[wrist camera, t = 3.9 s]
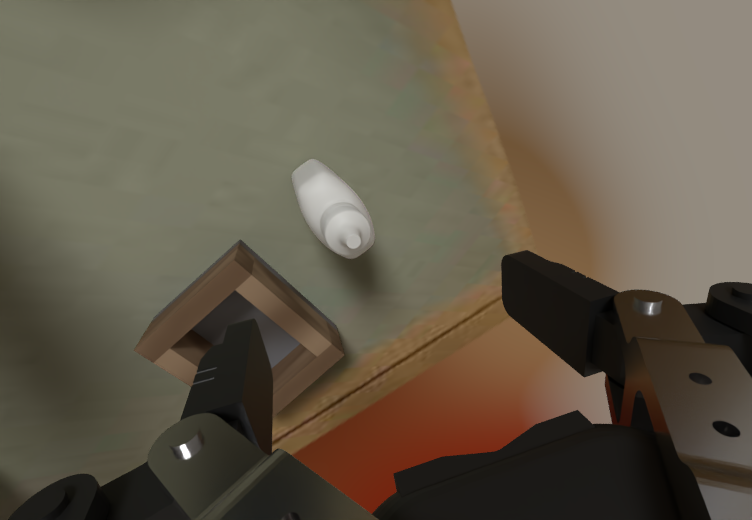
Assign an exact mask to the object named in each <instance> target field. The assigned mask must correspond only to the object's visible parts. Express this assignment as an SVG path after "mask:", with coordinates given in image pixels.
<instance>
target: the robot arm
mask: <svg viewBox="0 0 752 520" xmlns="http://www.w3.org/2000/svg"><path fill="white" fill-rule="evenodd" d="M501 268H502V301H503V305H504V307H505V310H506V312H507V313H508V314H509V316H511V317H512V318H513V319H514V320H515V321H517V322H518V323H519V324H520V325H521V326H523V327H524V328H525V329H526V330H528V331H529V332H530V333H531V334H532V335H534V336H535V337H536V338H537V339H538V340H540V341H541V342H542V343H543V344H545V345H546V346H547V347H548V348H549V349H551V350H552V351H553V352H554V353H555V354H557V355H558V356H559V357H560V358H561V359H563V360H564V361H565V362H566V363H567V364H569V365H570V366H571V367H572V368H574V369H575V370H576V371H577V372H578V373H579V374H581V375H582V376H583V377H587V376H590V375H593V374H596V373H598V372H602V371H603V372H605V373H606V376H605V389H606V394H607V400H608V405H609V410H610V415H611V420H612V424H592V423H591V422H590V421H589V420H588V419H587V418H585V417H584V416H583V415H582V414H581V413H580V412H579V411H578V410H576V411H573V412H570V413H567V414H565V415H562V416H559V417H556V418H553V419H550V420H547V421H544V422H541V423H538V424H536V425H534V426H533V427H531V428H530V429H529V430H527V431H526V432H524V433H523V434H521V435H520V436H519V437H517V438H516V439H514V440H513V441H512V442H510V443H509V444H507V445H506V446H505V447H503V448H502V449H500V450H498V451H495V452H487V453H478V454H467V455H457V456H445V457H440V458H437V459H434V460H432V461H429V462H426V463H423V464H420V465H417V466H414V467H411V468H408V469H405V470H403V471H400V472H397V473H394V479H395V484H396V489H397V492H396V493H395V494H393V495H392V496H390V497H389V498H388V499H387V500H386V501H384V502H383V503H382V504H381V505H380V506H379V507H378V508H377V509H376V510H375V511H374V512H373V514H371V513H369V512H368V511H367V510H365V509H364V508H362V507H361V506H360V505H358V504H357V503H356V502H354V501H353V500H351V499H350V498H349V497H347V496H346V495H345V494H343V493H342V492H341V491H339V490H338V489H337V488H335V487H334V486H332V485H331V484H330V483H328V482H327V481H326V480H324V479H323V478H322V477H320V476H319V475H318V474H316V473H315V472H313V471H312V470H311V469H309V468H308V467H307V466H305V465H304V464H302V463H301V462H300V461H298V460H297V459H295V458H294V457H293V456H292V455H290V454H289V453H287V452H286V451H284V450H282V449H276V450H275V451H274V452H273V453H272V417H273V375H272V369H271V365H270V361H269V358H268V355H267V352H266V349H265V345H264V342H263V339H262V336H261V333H260V330H259V327H258V324H257V322H256V320H255V319H254V318H253V319H249V320H245V321H241V322H237V323H233V324H229V325H228V326H227V329H226V333H225V337H224V341H223V343H222V344H219V345H215V346H212V347H211V348H210V349H209V350H208V351H207V353H206V354H205V355H204V356H203V357H202V358H201V360H200V363H199V366H198V369H197V374H196V375H195V378H194V381H193V385H192V387H191V390H190V393H189V396H188V399H187V402H186V405H185V408H184V411H183V414H182V417H181V420H180V421H179V422H177V423H176V424H174V425H172V426H171V427H170V428H168V429H167V430H166V431H165V432H164V433H162V434H161V435H160V436H159V438H158V439H157V440H156V441H155V442H154V444H153V445H152V447H151V449H150V451H149V454H148V459H147V462H146V463H144V464H143V465H141V466H139V467H137V468H136V469H134V470H132V471H130V472H128V473H126V474H124V475H122V476H121V477H119V478H117V479H115V480H113V481H111V482H109V483H107V484H105V485H104V486H102V487H100V485H99V484H98V482H97V481H96V479H95V478H94V477H93V476H92V475H89V474H77V475H73V476H69V477H66V478H64V479H61V480H59V481H57V482H55V483H53V484H51V485H49V486H47V487H46V488H44V489H42V490H41V491H39V492H38V493H36V494H35V495H34V496H32V497H31V498H30V499H28V500H27V501H26V502H25V503H24V504H23V505H21V506H20V507H19V508H18V509H17V510H16V511H15V512H14V513H13V514H12V515H11V517H10V518H9V519H8V520H752V284H749V283H741V282H724V283H718V284H715V285H713V286H711V287H710V289H709V293H708V298H707V302H706V303H698V304H685V305H682V304H681V303H680V302H679V301H678V300H676V299H675V298H673V297H671V296H669V295H666V294H663V293H660V292H655V291H650V290H627V291H623V292H617V291H615V290H613V289H611V288H609V287H607V286H605V285H603V284H601V283H599V282H597V281H595V280H593V279H591V278H589V277H587V278H586V276H585V275H582V274H581V273H579V272H575V270H572V269H571V268H569V267H567V266H565V265H562V264H559V263H554V262H550V261H548V260H546V259H544V258H542V257H540V256H538V255H536V254H534V253H532V252H530V251H528V250H525V251H521V252H517V253H513V254H509V255H505V256H504V257H503V259H502V263H501Z"/></svg>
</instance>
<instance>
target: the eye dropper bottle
mask: <svg viewBox="0 0 752 520" xmlns="http://www.w3.org/2000/svg"><path fill="white" fill-rule="evenodd" d="M292 183H293V186H294V190H295V194H296V197H297V200H298V203H299V206H300V209H301V212H302V214H303V216H304V218H305V220H306V222H307V224H308V226H309V227H310V229H311V230H312V232H313V233H314V234H315V236H316V237H317V238H318V239H319V240H320V241H321V242H322V243H323V244H324V245H325V246H326V247H328V248H329V249H330V250H332V251H333V252H335V253H337V254H338V255H340V256H342V257H345V258H347V259H354V258H357V257H358V256H360V255H361V254H363V253H364V252H365V251H367V250H368V249H369V248H370V247H371V246H372V245H373V244H374V241H375V232H374V227H373V223H372V220H371V217H370V215H369V213H368V211H367V209H366V207H365V205H364V203H363V202H362V200H361V199H360V198H359V196H358V195H357V194H356V193H355V192H354V191H353V190H352V188H351V187H350V186H348V185H347V184H346V183H345V182H344V181H343V180H342V179H341V178H340V177H339V176H338V175H336V174H335V173H334V172H333V171H332V170H331V169H330V168H328V167H327V166H326V165H324V164H323V163H321V162H320V161H318V160H315V159H310V160H308V161H307V162H305V163H304V164H302V165H301V166H300V167H298V168H297V169H296V170H294V172H293V173H292Z"/></svg>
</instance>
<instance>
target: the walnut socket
mask: <svg viewBox="0 0 752 520" xmlns="http://www.w3.org/2000/svg"><path fill="white" fill-rule="evenodd" d="M253 318H254V319H255V320H256V322H257V324H258V327H259V330H260V333H261V336H262V339H263V342H264V345H265V349H266V352H267V355H268V358H269V361H270V365H271V369H272V375H273V417H274V416H275V415H276V414H277V413H279V412H280V411H281V410H282V409H283V408H284V407H286V406H287V405H288V404H289V403H290V402H291V401H292V400H294V399H295V398H296V397H297V396H298V395H299V394H301V393H302V392H303V391H304V390H305V389H306V388H307V387H309V386H310V385H311V384H312V383H313V382H314V381H316V380H317V379H318V378H319V377H320V376H321V375H322V374H324V373H325V372H326V371H327V370H328V369H329V368H330V367H332V366H333V365H334V364H335V363H336V362H337V361H339V360H340V359H341V358H342V357H343V356H344V355H345V354H344V351H343V347H342V344H341V340H340V337H339V334H338V330H337V327H336V325H335V324H334V323H333V322H332V321H331V320H329V319H328V318H327V317H326V316H325V315H324V314H323V313H322V312H321V311H319V310H318V309H317V308H316V307H315V306H314V305H313V304H312V303H311V302H309V301H308V300H307V299H306V298H305V297H304V296H303V295H302V294H301V293H299V292H298V291H297V290H296V289H295V288H294V287H293V286H292V285H291V284H289V283H288V282H287V281H286V280H285V279H284V278H283V277H282V276H280V275H279V274H278V273H277V272H276V271H275V270H274V269H273V268H272V267H270V266H269V265H268V264H267V263H266V262H265V261H264V260H263V259H262V258H260V257H259V256H258V255H257V254H256V253H255V252H254V251H253V250H252V249H250V248H249V247H248V246H247V245H246V244H245V243H244V242H243V241H242V240H239V241H238V242H237V243H236V244H235V245H234V246H232V247H231V248H230V249H229V250H228V251H227V252H226V253H225V254H224V255H222V256H221V257H220V258H219V259H218V260H217V261H216V262H215V263H214V264H213V265H211V266H210V267H209V268H208V269H207V270H206V271H205V272H204V273H203V274H201V275H200V276H199V277H198V278H197V279H196V280H195V281H194V282H193V283H191V284H190V285H189V286H188V287H187V288H186V289H185V290H184V291H183V292H182V293H180V294H179V295H178V296H177V297H176V298H175V299H174V300H173V301H172V302H170V303H169V304H168V305H167V306H166V307H165V308H164V309H163V310H162V311H160V312H159V313H158V314H157V315H156V316H155V317H154V318H153V320H152V322H151V323H150V325H149V326H148V328H147V330H146V331H145V333H144V334H143V336H142V338H141V339H140V341H139V343H138V344H137V346H136V347H135V349H134V351H135V352H137V353H139V354H140V355H142V356H143V357H145V358H147V359H148V360H150V361H151V362H153V363H154V364H156V365H158V366H159V367H161V368H162V369H164V370H166V371H167V372H169V373H170V374H172V375H174V376H175V377H177V378H178V379H180V380H181V381H183V382H185V383H186V384H188V385H189V386H191V387H192V385H193V381H194V378H195V375H196V374H197V369H198V366H199V363H200V360H201V358H202V357H203V356H204V355H205V354H206V353H207V351H208V350H209V349H210V348H211V347H212V346H215V345H219V344H222V343H223V341H224V337H225V333H226V329H227V326H228V325H229V324H233V323H237V322H241V321H245V320H249V319H253ZM273 417H272V418H273Z"/></svg>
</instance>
